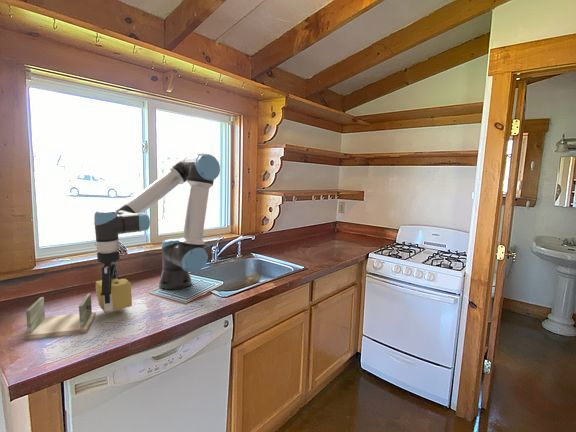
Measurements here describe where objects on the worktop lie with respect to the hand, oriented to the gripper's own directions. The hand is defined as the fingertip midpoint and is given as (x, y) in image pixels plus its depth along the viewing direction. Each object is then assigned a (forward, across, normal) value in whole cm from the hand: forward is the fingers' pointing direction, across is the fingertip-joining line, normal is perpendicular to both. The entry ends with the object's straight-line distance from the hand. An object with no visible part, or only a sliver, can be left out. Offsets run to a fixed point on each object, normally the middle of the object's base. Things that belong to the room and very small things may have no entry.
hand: (112, 303), depth 128 cm
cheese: (+1, 0, +1) cm, 2 cm away
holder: (+3, +8, -15) cm, 17 cm away
